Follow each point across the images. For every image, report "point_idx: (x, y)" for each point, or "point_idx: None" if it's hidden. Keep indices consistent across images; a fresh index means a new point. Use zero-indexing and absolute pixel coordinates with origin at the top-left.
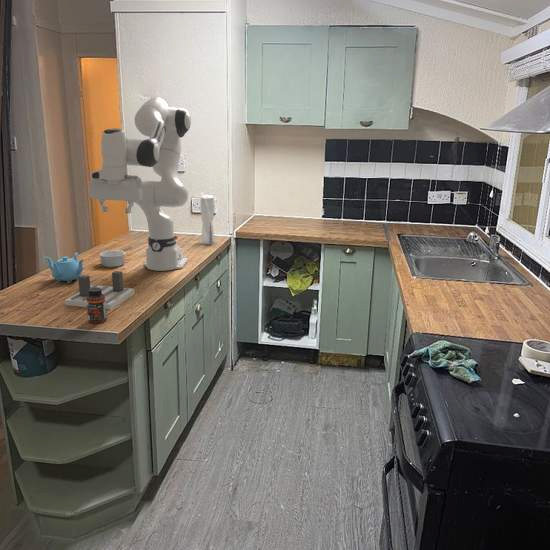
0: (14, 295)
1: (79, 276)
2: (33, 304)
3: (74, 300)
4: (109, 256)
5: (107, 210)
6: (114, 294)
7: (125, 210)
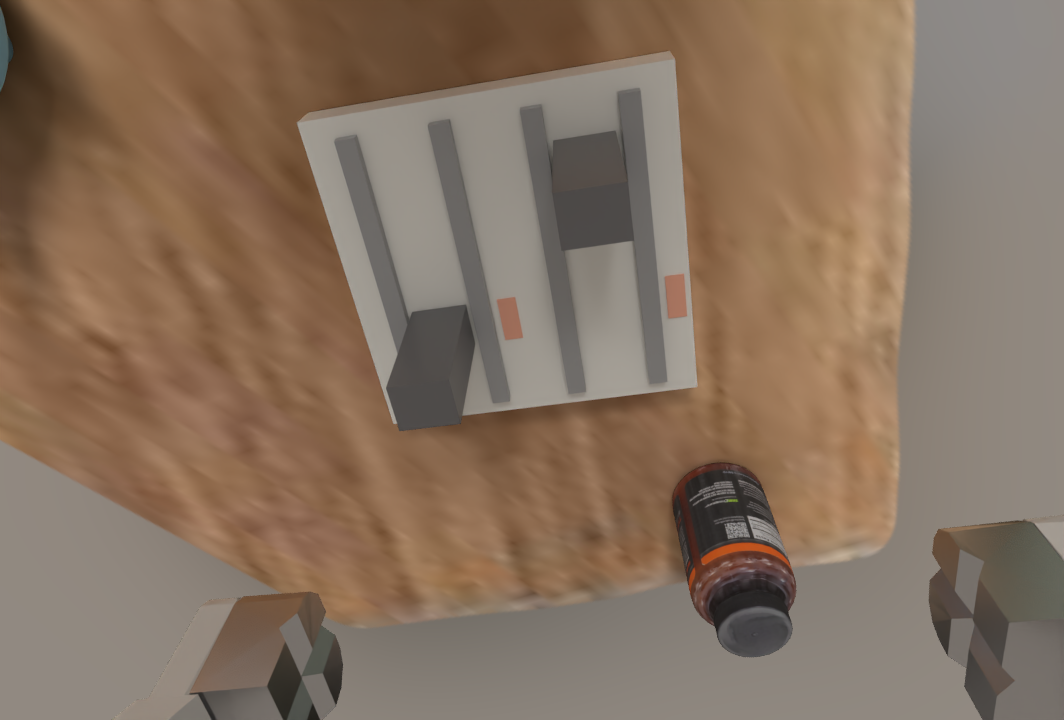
0: (4, 399)
1: (399, 419)
2: (237, 455)
3: None
4: None
5: (314, 627)
6: None
7: (972, 682)
